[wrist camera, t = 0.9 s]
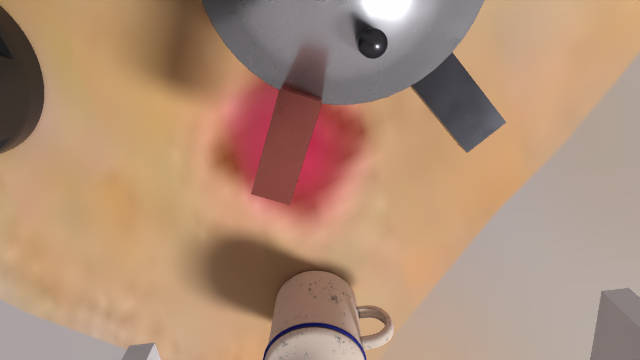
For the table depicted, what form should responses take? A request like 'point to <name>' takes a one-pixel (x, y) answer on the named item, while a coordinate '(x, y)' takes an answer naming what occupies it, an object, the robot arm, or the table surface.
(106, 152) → the table surface
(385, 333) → the teacup with lid
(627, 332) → the robot arm
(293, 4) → the lid
